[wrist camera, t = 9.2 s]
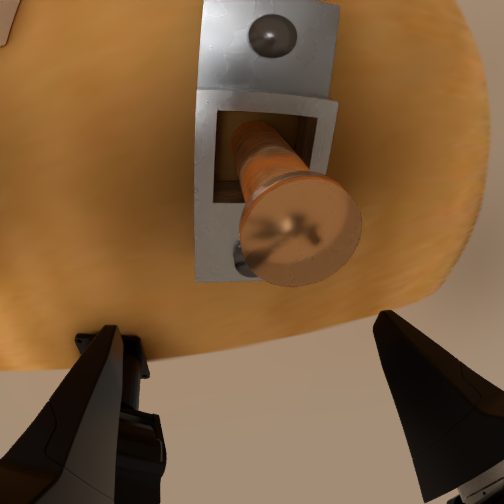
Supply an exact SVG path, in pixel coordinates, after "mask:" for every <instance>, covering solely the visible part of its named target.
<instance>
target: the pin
mask: <svg viewBox="0 0 504 504" xmlns="http://www.w3.org/2000/svg"><path fill="white" fill-rule="evenodd" d="M230 148H231V153H232V156H233V160H234V163H235V167H236V171H237V174H238V178H239V182H240V185H241V189H242V192H243V196H244V200H245V203H246V204H245V206H244V208H243V211H242V213H241V217H240V221H239V238H240V243H241V248H242V253H243V256H244V259H245V261H246V263H247V265H248V266H249V268H250V269H251V270H252V271H253V272H254V273H255V274H256V275H257V276H258V277H260V278H261V279H263V280H265V281H266V282H269V283H271V284H274V285H279V286H286V287H297V286H304V285H309V284H312V283H316V282H318V281H321V280H323V279H325V278H327V277H329V276H330V275H332V274H333V273H335V272H336V271H337V270H339V269H340V268H341V267H342V266H343V265H344V264H345V263H346V262H347V261H348V260H349V258H350V257H351V256H352V254H353V253H354V251H355V249H356V247H357V245H358V242H359V240H360V236H361V230H362V219H361V214H360V211H359V208H358V206H357V204H356V203H355V201H354V200H353V199H352V197H351V196H350V195H349V194H348V193H347V192H346V190H345V189H344V188H343V187H342V186H341V185H340V184H339V183H338V182H337V181H335V180H334V179H332V178H331V177H329V176H327V175H324V174H322V173H318V172H313V171H310V169H309V168H308V167H307V166H306V165H305V163H304V162H303V161H302V160H301V159H300V157H299V156H298V155H297V154H296V153H295V152H294V150H293V149H292V148H291V147H290V146H289V145H288V143H287V142H286V141H285V140H284V139H283V138H282V136H281V135H280V134H279V133H278V132H277V131H276V130H275V129H274V128H273V127H272V126H271V125H270V124H268V123H265V122H262V121H250V122H247V123H245V124H243V125H241V126H240V127H239V128H238V129H237V130H236V131H235V132H234V134H233V136H232V138H231V143H230Z"/></svg>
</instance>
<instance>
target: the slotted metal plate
mask: <svg viewBox="0 0 504 504" xmlns="http://www.w3.org/2000/svg"><path fill="white" fill-rule="evenodd" d="M339 13H340V6H336V5H332V4H328V3H324V2H319V1H314V0H204V5H203V15H202V27H201V39H200V52H199V68H198V85H197V97H196V121H195V157H194V249H195V282H238V281H265V280H263V279H261V278H260V277H258V276H257V275H256V274H255V273H254V272H253V271H252V270H251V269H250V268H249V266H248V265H247V263H246V261H245V259H244V256H243V253H242V248H241V243H240V238H239V221H240V217H241V213H242V211H243V208H244V206H245V204H246V203H245V200H244V196H243V192H242V189H241V185H240V182H239V181H214V160H215V139H216V121H217V110H225V111H249V112H265V113H278V114H289V115H299V116H300V118H299V125H298V132H297V139H296V146H295V153H296V154H297V155H298V156H299V157H300V159H301V160H302V161H303V162H304V163H305V165H306V166H307V167H308V168H309V169H310V171H313V172H318V173H322V174H324V175H326V171H327V166H328V161H329V156H330V150H331V145H332V139H333V134H334V128H335V122H336V116H337V110H338V104H339V102H338V101H336V100H333V99H331V98H329V97H328V96H329V89H330V82H331V75H332V68H333V61H334V53H335V46H336V38H337V30H338V21H339Z"/></svg>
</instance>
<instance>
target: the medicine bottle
mask: <svg viewBox="0 0 504 504" xmlns="http://www.w3.org/2000/svg"><path fill="white" fill-rule="evenodd" d="M19 2H20V0H0V47H3V46H4V45H5V44H6V41H7V38H8V35H9V31H10V28H11V25H12V22H13V19H14V16H15V13H16V10H17V7H18V5H19Z"/></svg>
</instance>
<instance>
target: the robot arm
mask: <svg viewBox="0 0 504 504" xmlns="http://www.w3.org/2000/svg"><path fill="white" fill-rule="evenodd" d="M373 333H374V338H375V342H376V345H377V349H378V353H379V357H380V361H381V365H382V368H383V371H384V374H385V377H386V379H387V382H388V385H389V388H390V391H391V394H392V396H393V399H394V402H395V405H396V408H397V411H398V414H399V417H400V420H401V424H402V427H403V430H404V433H405V436H406V440H407V443H408V446H409V449H410V453H411V456H412V458H413V459H412V460H413V464H414V467H415V471H416V474H417V477H418V482H419V485H420V489H421V493H422V497H423V500H424V503H427V502H429V501H431V500H433V499H436V498H438V497H440V496H442V495H444V494H446V493H448V492H450V491H452V490H454V489H456V488H457V489H458V491H459V495H457V496H455V497H453V498H452V499H450V500H449V501H447V504H504V391H503V390H501V389H500V388H498V387H497V386H495V385H493V384H492V383H490V382H489V381H487V380H486V379H484V378H483V377H481V376H480V375H478V374H477V373H475V372H474V371H472V370H471V369H470V368H468V367H467V366H466V365H465V364H463V363H462V362H461V361H460V362H459V360H458V359H457V358H455V357H454V356H453V355H451V354H450V353H449V352H448V351H446V350H445V349H444V348H442V347H441V346H440V345H438V344H437V343H435V342H434V341H433V340H431V339H430V338H429V337H427V336H426V335H425V334H423V333H422V332H421V331H419V330H418V329H417V328H415V327H414V326H412V325H411V324H410V323H409V322H407V321H406V320H404V319H403V318H402V317H400V316H399V315H397V314H396V313H395V312H393V311H392V310H384V311H381V312H380V313H379V315H378V317H377V319H376V321H375V323H374V325H373ZM74 341H75V343H76V345H77V347H78V349H79V351H80V353H81V356H80V358H79V359H78V360H77V362H76V363H75V364H74V366H73V367H72V368H71V370H70V371H69V373H68V374H67V375H66V377H65V378H64V379H63V381H62V382H61V383H60V385H59V386H58V388H57V389H56V390H55V392H54V393H53V395H52V396H51V398H50V399H49V401H50V402H49V401H48V402H47V403H46V405H45V406H44V407H43V409H42V410H41V412H40V413H39V414H38V416H37V417H36V418H35V420H34V421H33V422H32V423H31V425H30V426H29V427H28V428H27V430H26V431H25V432H24V433H23V434H22V435H21V437H20V438H19V439H18V440H17V441H16V442H15V444H14V445H13V446H12V447H11V448H10V450H9V451H8V452H7V453H6V454H5V455H4V456H3V457H2V458H1V459H0V504H160V481H161V477H162V476H163V473H164V471H165V467H166V459H167V458H166V448H165V443H164V438H163V434H162V428H161V424H160V418H159V415H156V414H149V413H145V412H141V411H138V408H139V391H140V379H147V378H149V377H150V372H149V369H148V365H147V362H146V358H145V355H144V351H143V347H142V344H141V340H140V339H139V338H138V337H126V336H121V335H120V332H119V328H118V326H117V325H105V326H104V327H103V328H102V329H101V330H100V332H99V333H98V334H97V336H95V335H76V336H75V339H74Z"/></svg>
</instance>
